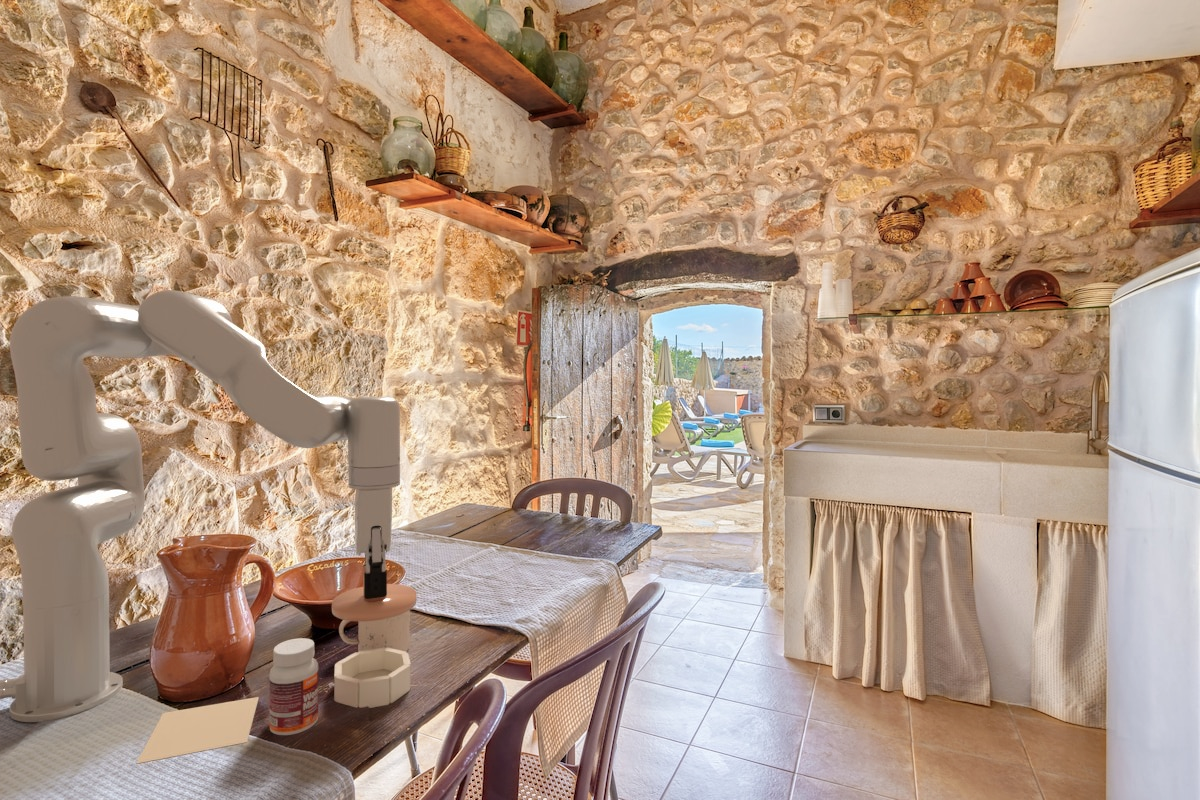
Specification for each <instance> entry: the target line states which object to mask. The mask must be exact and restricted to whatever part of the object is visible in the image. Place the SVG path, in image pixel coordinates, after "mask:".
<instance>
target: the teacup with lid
mask: <svg viewBox="0 0 1200 800" xmlns="http://www.w3.org/2000/svg"><path fill="white" fill-rule="evenodd" d="M410 613H411V609H410V610H409V611H407V612H405V613H403V614H400V615H397V616H394V617H391V618H387V619H382V620H375V621H357V622H358V627H357V628H358V629H357V631H358V632H357V633H358V634H357V637H356V638H350V637H347V636H346V634H345V633H344V630H345V629H344V628H345V626H346V625H347V624H348V623H351V621H347V620H343V619H342V621H341V622H340V624H339V627H338V633H339V636H340V638H341V640H342V641H343V642H344V643H346V644H347V645H357V647H358V648H357V649H358V650H357V652H358V651H364V650H370V649H377V648H383V647H385V648H387V647H388V648H392V649H396V650H401V651H405V652H407V653H408V650H409V649H410V621H411V620H410Z"/></svg>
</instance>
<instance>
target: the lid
mask: <svg viewBox="0 0 1200 800" xmlns="http://www.w3.org/2000/svg"><path fill="white" fill-rule="evenodd" d="M387 566H388V565H387V564H386V563H385V570H387V571H388V569H387ZM362 567H363V566H362ZM362 571H363V578H362V579H363V582H362V583H363V586H360V587H355V588H352V589H349V590H347V591H344V592H342V593H340V594H338V595H337V596H335V598H333V599H332V602H331V613H332V615H333V616H334V617H335V618H337V619H340V620H342V621H343V620H347V621H350V622H358V621H375V620H382V619H387V618H391V617H394V616H397V615H400V614H403V613H405V612H407V611H409V610H410V611H411V610H412V609H413V608H414V607H416V604H417V602H418V601H417V597H418V595H417V591H416V590H415V589H414V588H412V587H410V586H407V585H404V584H398V583H387V595H386V596H385V597H379V598H371V599H365V597H364V572H366V565H365V566H364V567H363V570H362Z"/></svg>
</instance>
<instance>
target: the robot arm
mask: <svg viewBox="0 0 1200 800" xmlns="http://www.w3.org/2000/svg"><path fill="white" fill-rule="evenodd" d="M9 352H10V358H11V363H12V367H13V371H14V377H15V383H16V390H17V411H18V426H19V441H20V451H21V460H22V464H23V466H24V468H25V470H26V472H27V473H28V474H30V475H31V476H32V477H34V478H36V479H38V480H41V481H50V482H52V481H53V482H56V481H57V482H59V481H64V480H65V481H67V480H71V479H76V478H77V484H78V485H75V486H69V487H66V488H62V489H58V490H53V491H51V492H47V493H44V494H40V495H38V496H37V497H35V498H33V499H31V500H30V501H29V502H27V503H26V504H24V505H23V506H22V507H21V508H19V509H20V510H19V511H18V512H17V513H16V514H15V517H14V519H13V522H12V527H11V534H12V541H13V544H14V547H15V551H16V553H17V558H18V562H19V566H20V573H21V574H20V575H21V588H22V592H21V593H22V607H23V608H22V610H23V612H22V613H23V615H22V617H23V621H22V622H23V623H22V624H23V626H22V627H23V674H20V675H19V676H18V677H17V678H4V679H0V700H3V699H8V698H11V699H12V700H13V699H14V700H13V701H12V702H11V703H10V705H9V711H8V712H9V717H10V718H11V719H12V720H15V721H16V722H17V721H18V722H21V723H22V722H23V723H39V722H46V721H52V720H57V719H61V718H65V717H69V716H73V715H76V714H79V713H82V712H85V711H88V710H90V709H93V708H95V707H98V706H99V705H102V704H104V703H106V702H107V701H108V700H110V699H112V698H113V697H115V696H117V694H119V692H121V690H122V689H123V686H124V684H123V683H124V682H123V679H124V678H123V676H122V675H120V674H119V673H118V672H114V671H113V672H112V671H110V667H111V665H110V663H111V662H110V661H111V660H110V659H111V658H110V655H111V654H110V652H111V651H110V589H109V588H110V587H109V585H110V582H109V571H108V567H107V565H106V562H105V561H104V559H103V557H102V555H101V552H100V551H99V548H98V547H99V546H98V545H100V544H102V543H104V542H106V541H108V540H109V541H110V540H111V539H115V538H118V537H120V536H121V535H123V534H126V533H128V532H130V531H131V530H133V529H134V528H135V527H136V526H137V524H138V523H139V522H140V520H141V519H142V517H143V513H144V510H145V483H144V470H143V469H144V467H143V452H142V445H141V444H142V443H141V440H140V436H139V435H138V432H137V430H136V429H135V428H134V426H133V425H132V424H131V423H130V422H129V421H128V420H126V419H125V418H123V417H122V416H119V415H116V414H113V413H109V412H108V413H107V412H98V409H97V402H96V401H97V398H96V397H97V393H96V386H95V382H94V380H93V377H92V375H91V374H90V372H89V370H88V368H87V366H86V365H85V363H84V359H86V358H88V357H100V358H121V359H137V358H138V359H140V358H142V359H143V358H149V357H159V356H169V355H174V356H175V357H177V358H178V359H180V360H181V361H183V362H184V363H186V364H188V365H189V366H191V367H192V368H193V369H195V370H197V371H198V372H199V373H201V374H203V375H204V376H205V377H207V378H209V379H210V380H212V381H213V382H214V383H216V384H217V385H219V387H221V388H222V389H223V390H224V392H225V394H226V395H227V396H228V398H229V399H230V400H231V402H233V403H234V404H235V406H236V407H237V408H238V410H240V411H241V412H242V413H243V414H244V415H245V416H246V417H248V418H249V419H251V420H252V421H253V422H255V423H256V424H257V425H259V426H260V427H261V428H264V429H265V430H266V431H268V432H270V433H271V434H272V435H274V436H276V437H277V438H279V439H281V440H282V441H283V442H286V443H287V444H289V445H291V446H294V447H296V448H302V449H314V448H318V447H319V448H320V447H322V446H324V445H328V444H332V443H336V442H341V441H347V447H348V448H347V450H348V451H347V454H348V456H347V457H348V458H347V460H348V461H347V462H348V464H347V465H348V466H347V470H348V471H347V472H348V473H347V474H348V477H347V478H348V482H347V483H348V488H349V489H351V490H355V495H354V541H355V542H354V543H355V544H354V546H355V554H356V555H357V556H361V554H364V564H363V566H362V567H364V566H365V565H366V572H364V597H365V599H371V598H379V597H385V596H386V595H387V584H388V580H387V579H388V576H387V575H388V569H387V570H385V564H386V553H388V552H389V551H390V550H391V544H392V543H391V541H392V526H393V523H392V522H393V488H395V487H398V486H400V485H401V464H400V463H401V455H400V454H401V433H400V432H401V429H400V428H401V424H400V423H401V411H400V409H401V407H400V403H399V402H398V400H397V399H395V398H394V397H388V396H363V397H362V396H361V397H348V396H341V395H333V394H324V395H322V394H321V395H318V394H317V395H311V394H310V393H308V392H306V391H305V390H304V389H302V388H300V387H299V386H297V385H296V384H294V383H293V382H291V381H290V380H288V379H287V378H286V377H284V376H283V375H282V374H281V373H279V372H278V371H277V370H276V369H275V368H274V367H273V366H272V365H271V364H270V362H269V361H268V359H267V349H266V347H265V345H264V344H263V343H262V342H261V341H260V340H258V339H257V338H255V337H254V336H252V335H250V334H249V333H248V332H246V331H245V330H243V329H241V328H240V327H239V326H237V325H236V324H235V323H233V319H232V316H231V314H230V313H229V311H228V310H227V309H226V307H225V306H224V305H223V304H221V303H220V302H217V300H214V299H212V298H210V297H207V296H201V295H198V294H195V293H194V294H193V293H190V292H185V291H182V290H176V289H175V290H174V289H173V290H169V289H168V290H162V291H161V290H160V291H157V292H155V293H152V294H150V295H149V296H147V297H146V298H145V299H144V300H142V302H141V304H138V305H131V304H126V303H119V302H114V301H109V300H106V299H105V300H103V299H100V298H99V299H98V298H95V297H94V298H93V297H86V296H75V295H74V296H72V295H70V296H66V295H64V296H58V297H51V298H47V299H44V300H42V301H39V302H37V303H35V304H33V305H32V306H30V307H29V308H27V309H26V310H25V311H23V313H22V314H21V315H20V316H19V317H18V318H17V320H16V322H15V323H14V325H13V327H12V329H11V333H10V338H9ZM120 689H121V690H120Z"/></svg>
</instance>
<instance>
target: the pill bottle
mask: <svg viewBox="0 0 1200 800" xmlns="http://www.w3.org/2000/svg"><path fill="white" fill-rule="evenodd" d="M315 653H316V652H315V642H314V640H313V639H310V638H307V637H306V638H305V637H304V638H303V637H301V638H292V639H288V640H285V641H282V642H280V643H278V644H277V645H275V646H274V648H273V652H272V655H273V657H272V662H273V666H272V667H271V668H270V671H269V675H268V679H269V684H268V685H269V730H270V732H271V733H272V734H274V735H278V736H293V735H296V734H300V733H302V732H304V731H306V730H308V729H310V728H312V727H313V726H314V725H315V724H316V723H317V722H318V720H319V719H318V718H319V662H318V661H317V659H316V658H314V657H315Z"/></svg>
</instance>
